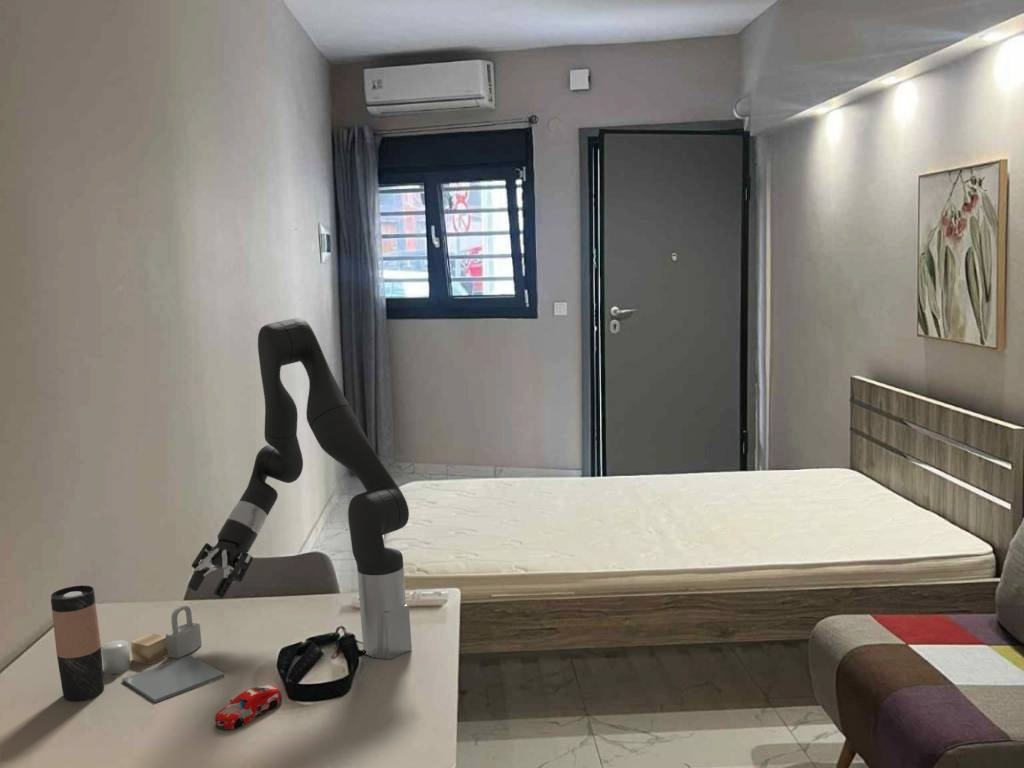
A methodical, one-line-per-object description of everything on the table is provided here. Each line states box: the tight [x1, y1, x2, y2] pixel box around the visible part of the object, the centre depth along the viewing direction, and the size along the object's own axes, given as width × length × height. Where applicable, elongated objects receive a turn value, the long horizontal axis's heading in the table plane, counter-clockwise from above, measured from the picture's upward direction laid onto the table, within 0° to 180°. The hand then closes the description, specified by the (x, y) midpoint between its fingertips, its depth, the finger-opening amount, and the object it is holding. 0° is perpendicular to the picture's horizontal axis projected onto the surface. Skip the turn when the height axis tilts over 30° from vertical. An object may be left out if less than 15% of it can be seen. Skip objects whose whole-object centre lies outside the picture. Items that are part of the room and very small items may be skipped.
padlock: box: [165, 604, 203, 659], centre depth 202 cm, size 7×4×10 cm, turn 157°
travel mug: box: [50, 585, 105, 702], centre depth 183 cm, size 8×8×20 cm
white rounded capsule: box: [101, 639, 132, 675], centre depth 195 cm, size 5×5×5 cm
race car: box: [214, 684, 283, 730], centre depth 173 cm, size 13×5×4 cm, turn 144°
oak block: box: [130, 632, 168, 665], centre depth 200 cm, size 5×5×4 cm
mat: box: [121, 654, 225, 703], centre depth 189 cm, size 14×14×1 cm
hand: (204, 593), depth 206 cm, fingers open, 8 cm apart
